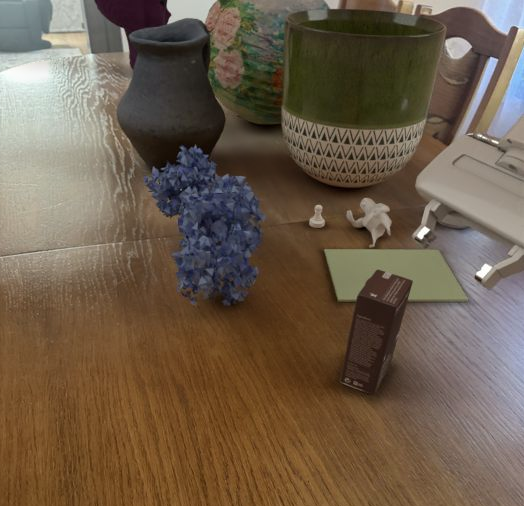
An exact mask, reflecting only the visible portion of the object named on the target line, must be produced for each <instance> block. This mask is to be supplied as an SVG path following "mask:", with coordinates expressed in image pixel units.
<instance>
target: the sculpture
mask: <svg viewBox="0 0 524 506" xmlns="http://www.w3.org/2000/svg"><path fill="white" fill-rule="evenodd" d="M93 1H94V3H95V5H96V9H97V10H98V11H99V13H100V14H101V15H102V16H103V17H104V18H105V19H107V21H109V22H110V23H112V24H113V25H115V26H117V27H119V28H121V29H123V30H124V33H125V37H126V40H127V45H128V59H129V63H128V64H129V65H130V68H131V69H132V71H134V65H135V62H136V59H137V55H138V54H137V51H136V49H135V48H134V47H133V45H132V44H131V42H130V40H129V35H130V34H131V33H132V32H134V31H137V30H140V29H145V28H151V27H160V26H163V25H167V24H169V20H170V18H171V17H172V12H170V11H169V9H168V0H93Z"/></svg>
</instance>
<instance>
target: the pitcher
mask: <svg viewBox="0 0 524 506" xmlns="http://www.w3.org/2000/svg"><path fill="white" fill-rule="evenodd" d="M129 40H130V42H131V44H132V45H133V47H134V48H135V49H136V51H137V54H138V55H137V59H136V62H135V65H134V70H132V76H131V80H130V82H129V84H128V87H127V89H126V90H125V92H124V93H123V95H122V96H121V98H120V100H119V102H118V104H117V106H116V118H117V123H118V125H119V128H120V129H121V130H122V132H123V133H124V135H125V136H126V138H127V139H128V140H129V143H131V145H132V147H133V149H134V151H136V153H137V155H138V156H139V158H140V159H141V160H142V161H143V163H144V164H145V165H146V167H147V168H148V169H149V171H151V172H152V171H153V167H155V168H156V169H158V171H159V172H160V173H162V172H163V173H164V171H163V170H161V169H162V168H166V167H167V166H166V165H167V164H168V162H169V163H170V165H171V166H172V165H174V164H175V165H174V167H176V166H177V165H180V166H182V165H181V163H180V162H177V160H178V159H179V158H177V156H178V154H179V152H182V150H181V148H180V147H182V146H184V147H185V148H186V149H187V152H186V153H188V154H190V153H189V151H188V150H189V149H190V148H191V147H193V148H194V146H195V144H196V147H197V150H198V149H199V148H200V150H202V153H203V155H209V156H208V158H207V159H208V160H210V158H211V155H212V153H213V151H214V149H215V147H216V145H217V143H218V141H219V140H220V138H221V136H222V133H223V131H224V130H225V125H226V121H227V119H226V114H225V111H224V109H223V107H222V104H221V103H220V101H219V100H218V98H217V97H216V96H215V94H214V92H213V89H212V86H211V84H210V81H209V79H208V76H207V75H208V71H209V65H210V55H211V47H210V36H209V32H208V29H207V26H206V25H205V22H204V21H202V20H201V19H199V18H193V17H184V18H181V19H178V20H176V21H173V22H170V23H168V24H167V25H163V26H160V27H151V28H145V29H140V30H137V31H134V32H132V33H131V34H130V35H129ZM195 155H196V154H195ZM197 155H198V154H197ZM198 157H199V156H198ZM199 158H200V157H199ZM167 161H168V162H167ZM171 166H168V167H171ZM183 166H184V165H183ZM184 168H185V166H184ZM186 168H187V167H186ZM188 168H190V167H188ZM193 169H194V168H193ZM200 169H201V168H200ZM197 170H198V168H197ZM163 173H162V174H163Z"/></svg>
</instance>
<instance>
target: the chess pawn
mask: <svg viewBox="0 0 524 506" xmlns="http://www.w3.org/2000/svg"><path fill="white" fill-rule="evenodd" d="M314 212H315V213H314V215H313V216H312V217H310V218H309V223H308V225H309V226H310V227H312V228H313V229H321V228H324V227H325V224H326V221H325V218H323V216H322V212H323V206H322V205H321V204H316V205H314Z"/></svg>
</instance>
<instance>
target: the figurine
mask: <svg viewBox="0 0 524 506" xmlns="http://www.w3.org/2000/svg"><path fill="white" fill-rule="evenodd" d="M359 207H360V209H361V210H362V211H363V213H364V217H360V218H358V219H357V220H355V218H354V216H353V215H354V214H353V212H352V210H347V211H346V214H345V217H346V219H347V220H348V221H349V222H350V224H351V225H352V227H353V228H355V229H356V228H357V229H361V228H366V230H367V231H369V233H370V234H371V238H372V244H369V245H368V247H369V248H368V249H373V248H375V246H376V245H375V244H376V241H377V240H378V239H379V238H380V237H382V236H383V235H384V234H385V232H386V233H387V235H388V236H389V237H390V236H391V235H392V234H391V226H392V223H393V221H392V219H391V218H390V217H389V215H388V214H387V213H389V212H390V211H391V210H390V209H391V208H390V207H389V205H386V204H384V203H382V202H379V203H376V202H375V201H374V200H373V199H372V198H369V197H364V198H362V199H361V201H360V203H359Z"/></svg>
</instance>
